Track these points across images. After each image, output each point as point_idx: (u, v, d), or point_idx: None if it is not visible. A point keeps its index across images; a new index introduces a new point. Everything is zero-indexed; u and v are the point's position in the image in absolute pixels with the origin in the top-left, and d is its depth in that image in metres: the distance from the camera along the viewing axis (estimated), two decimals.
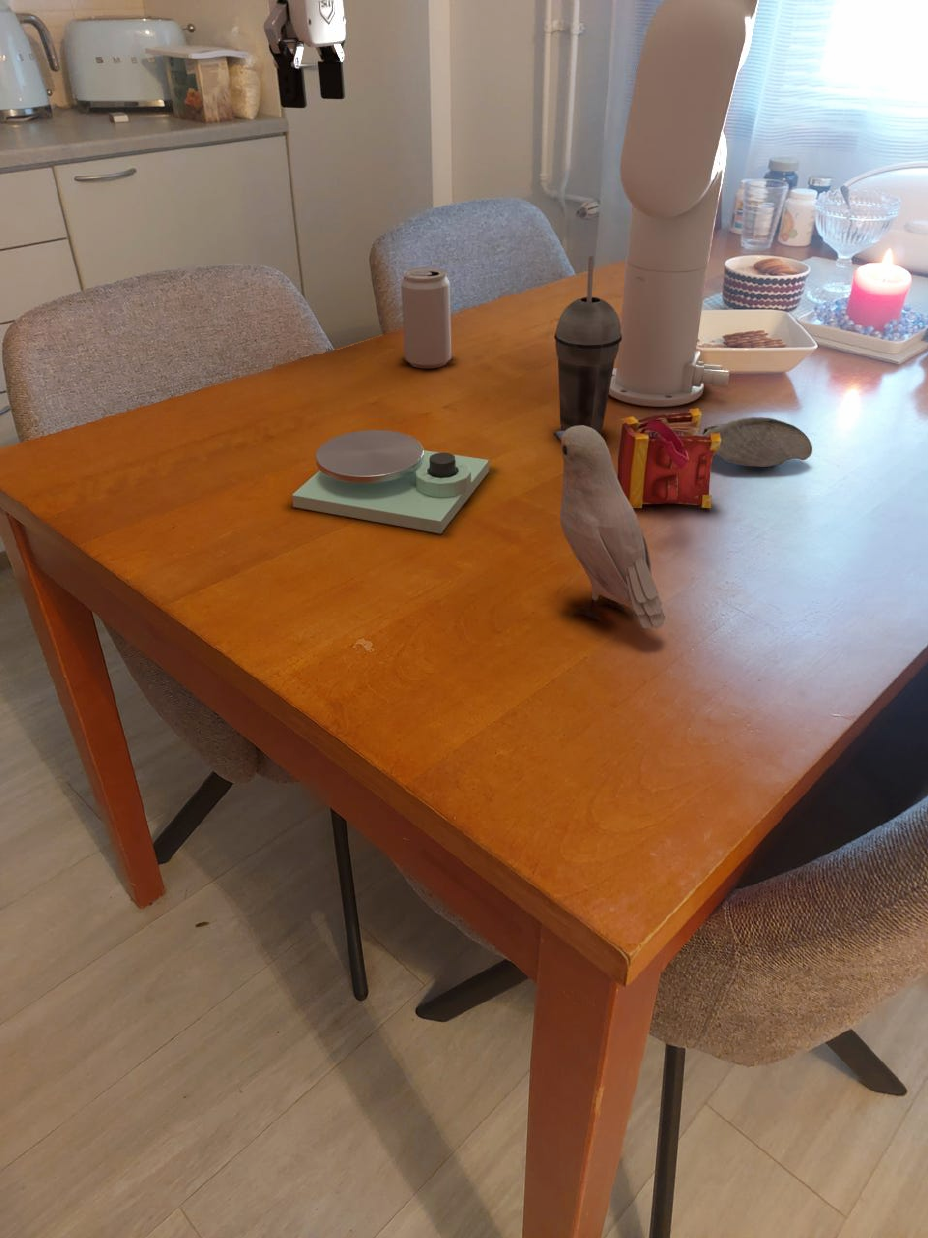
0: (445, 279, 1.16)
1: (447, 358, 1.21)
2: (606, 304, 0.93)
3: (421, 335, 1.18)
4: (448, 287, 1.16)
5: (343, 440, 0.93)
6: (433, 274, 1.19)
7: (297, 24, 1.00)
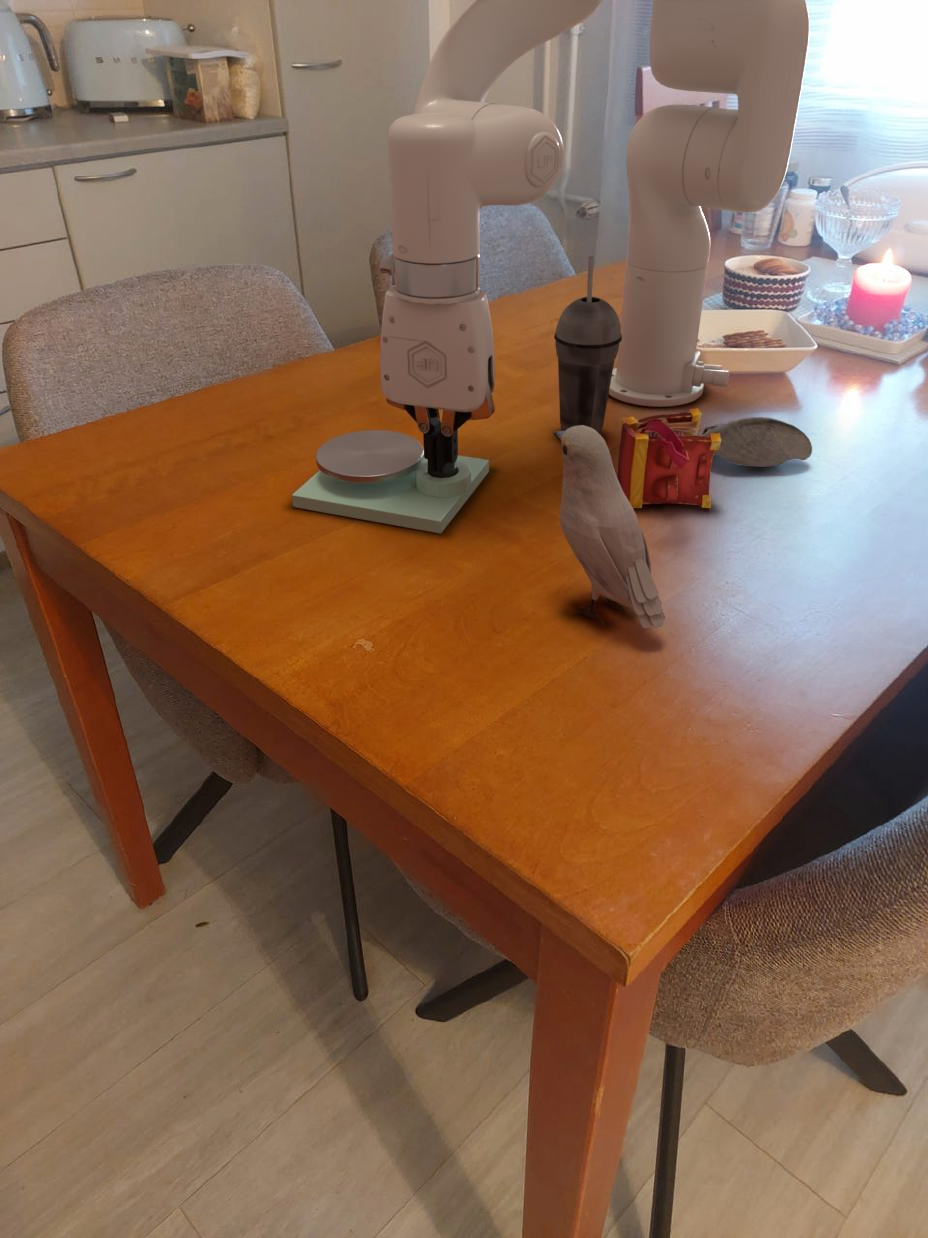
0: None
1: None
2: (606, 304, 0.93)
3: None
4: None
5: (343, 440, 0.93)
6: None
7: None
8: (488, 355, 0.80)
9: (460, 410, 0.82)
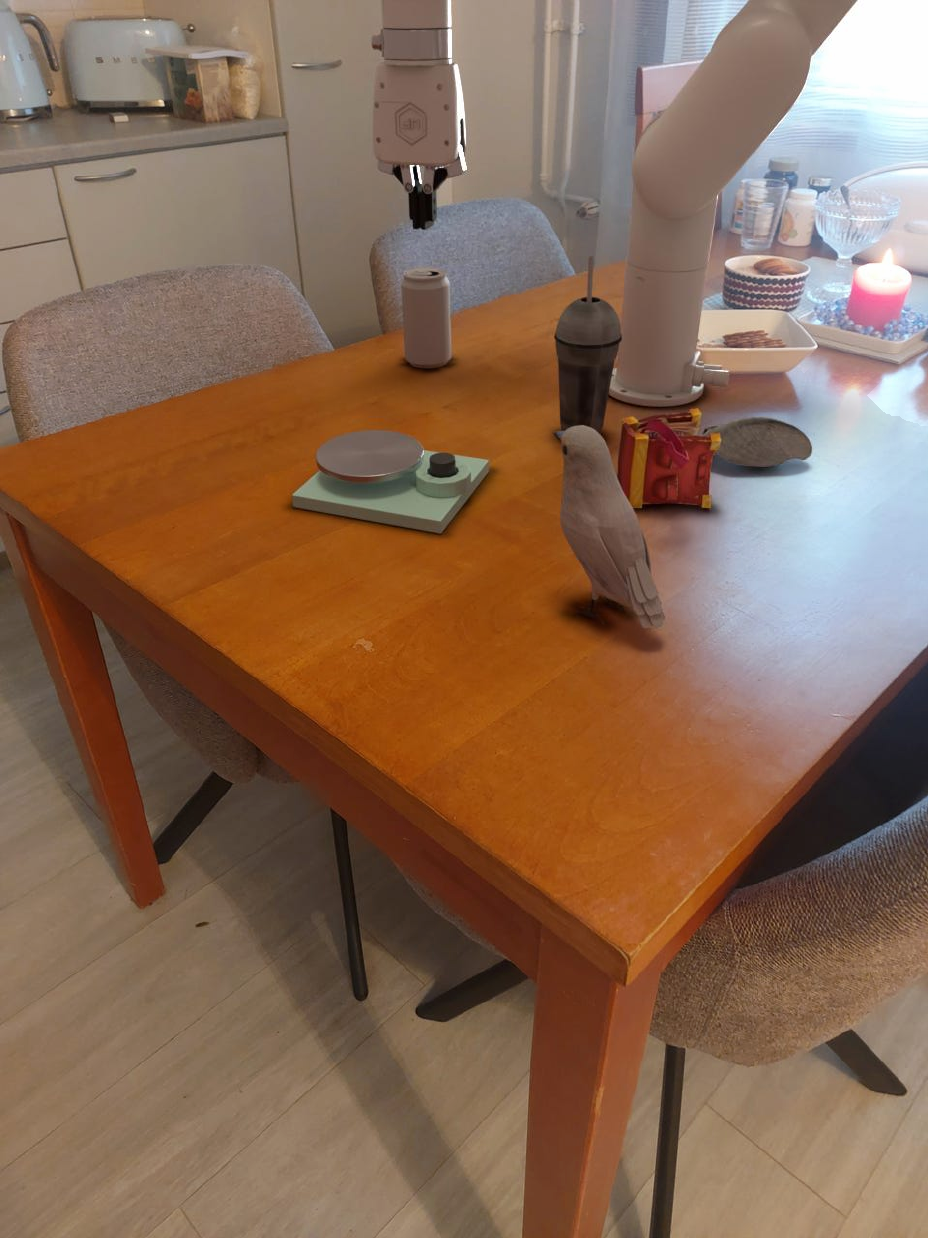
0: (445, 279, 1.16)
1: (447, 358, 1.21)
2: (606, 304, 0.93)
3: (421, 335, 1.18)
4: (448, 287, 1.16)
5: (343, 440, 0.93)
6: (433, 274, 1.19)
7: None
8: (460, 116, 1.00)
9: (438, 164, 1.01)
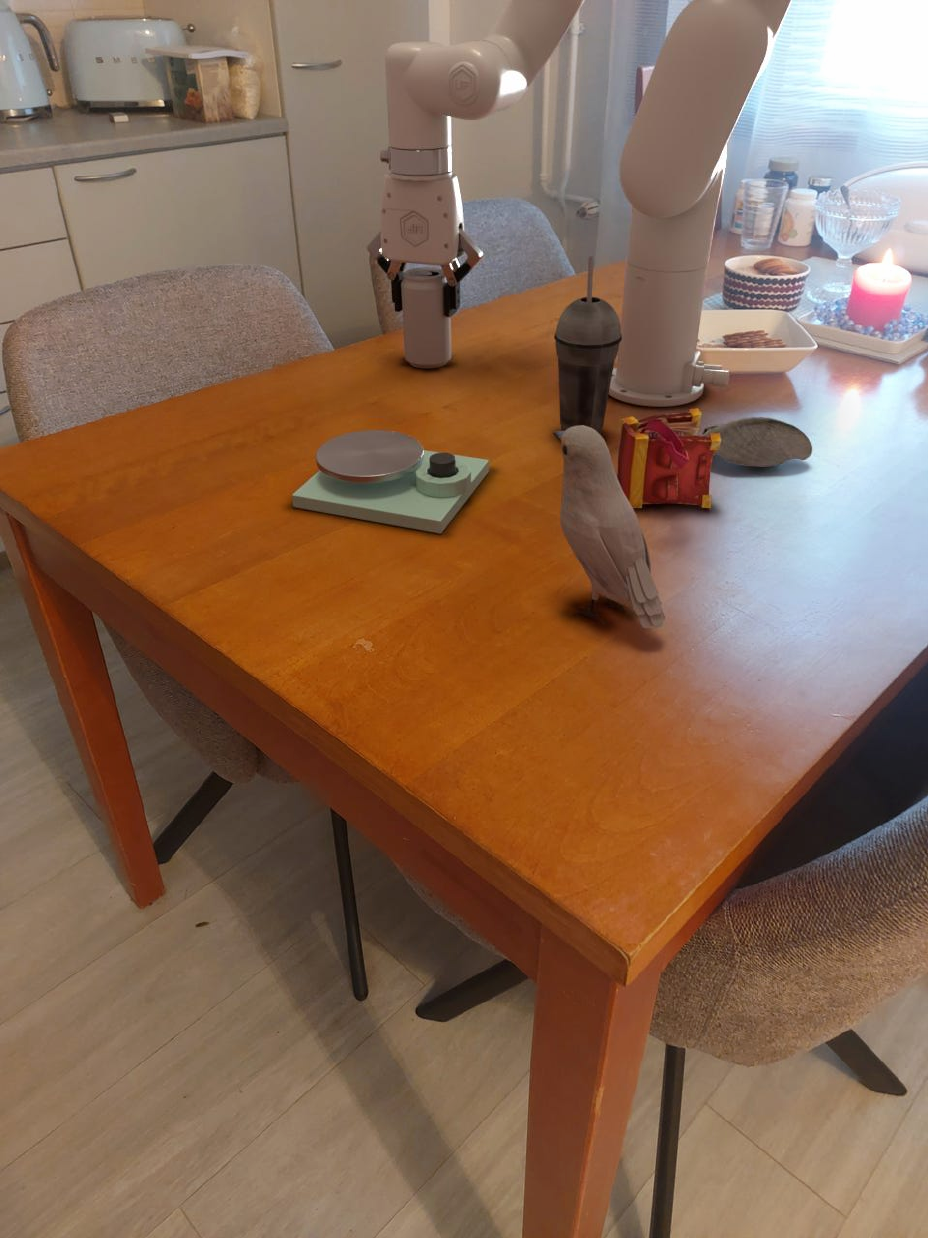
0: (445, 279, 1.16)
1: (447, 358, 1.21)
2: (606, 304, 0.93)
3: (421, 335, 1.18)
4: None
5: (343, 440, 0.93)
6: (433, 274, 1.19)
7: None
8: (459, 221, 1.10)
9: (439, 263, 1.12)
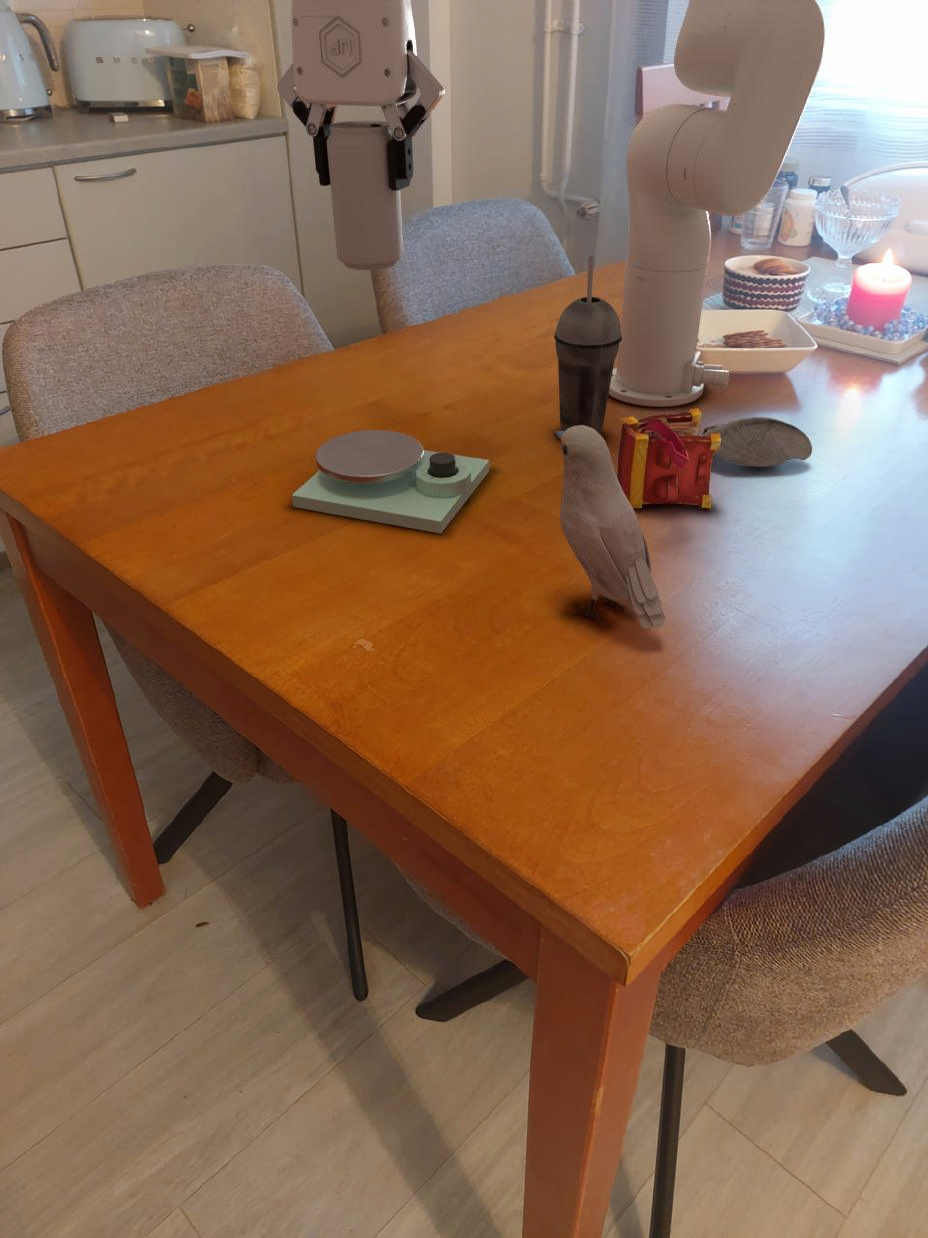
0: (390, 133, 0.79)
1: (396, 256, 0.84)
2: (606, 304, 0.93)
3: (357, 218, 0.81)
4: None
5: (343, 440, 0.93)
6: None
7: None
8: (406, 36, 0.74)
9: (378, 103, 0.75)
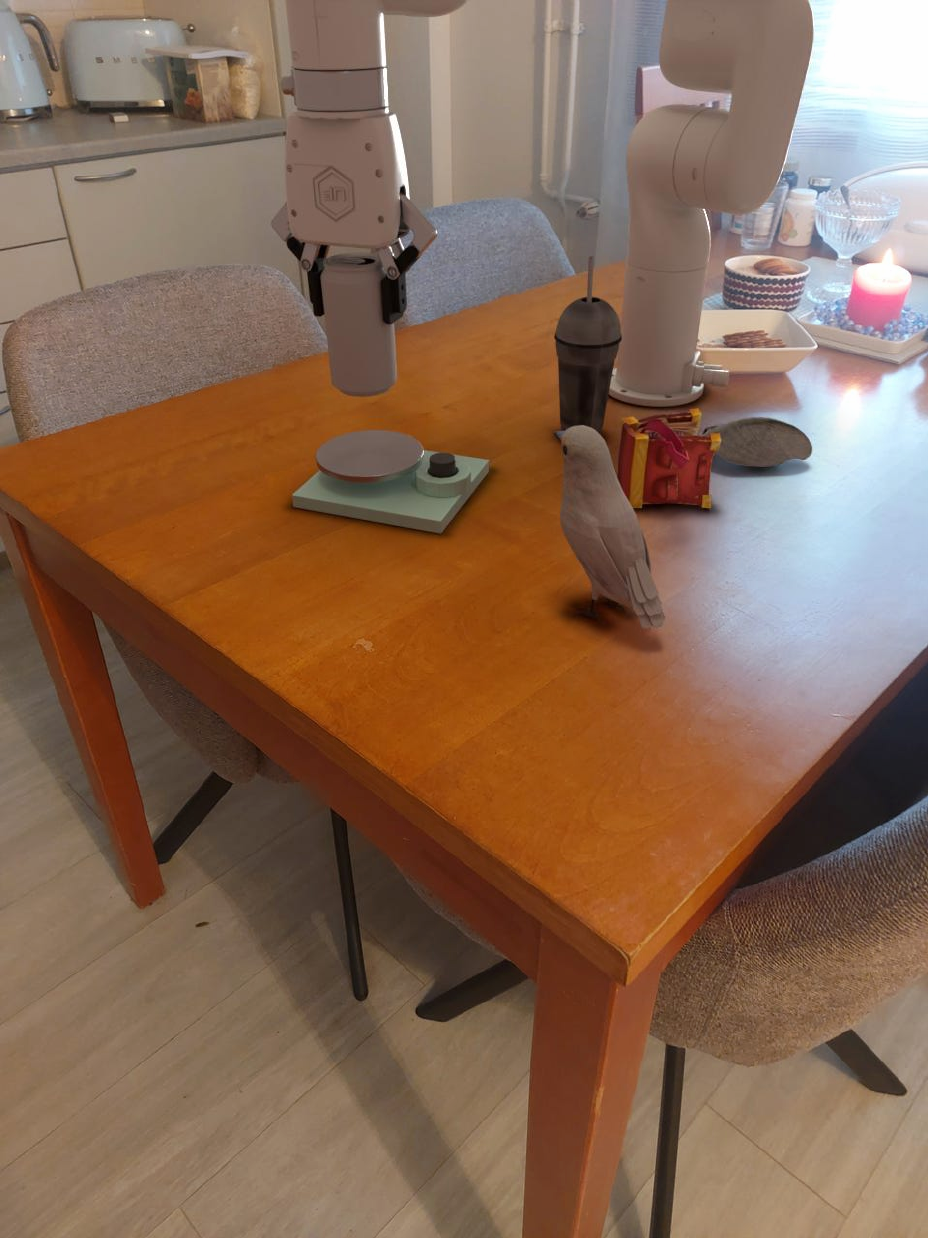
0: None
1: (390, 382, 0.85)
2: (606, 304, 0.93)
3: (351, 351, 0.82)
4: None
5: (343, 440, 0.93)
6: (369, 263, 0.83)
7: None
8: (399, 183, 0.75)
9: (371, 246, 0.76)
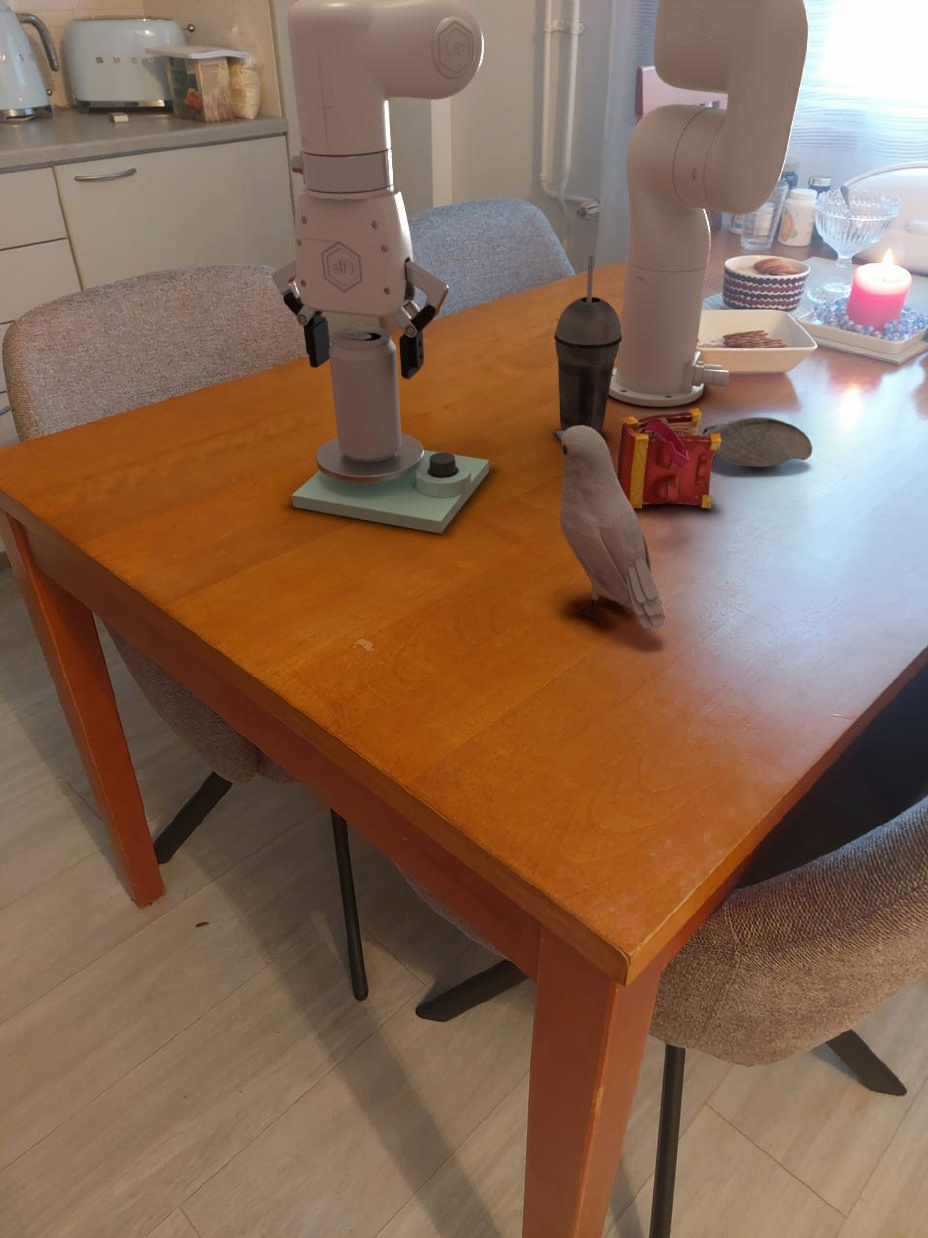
0: (389, 345, 0.84)
1: (395, 448, 0.89)
2: (606, 304, 0.93)
3: (358, 421, 0.86)
4: (394, 355, 0.84)
5: None
6: (375, 335, 0.87)
7: None
8: (404, 256, 0.78)
9: (378, 315, 0.80)
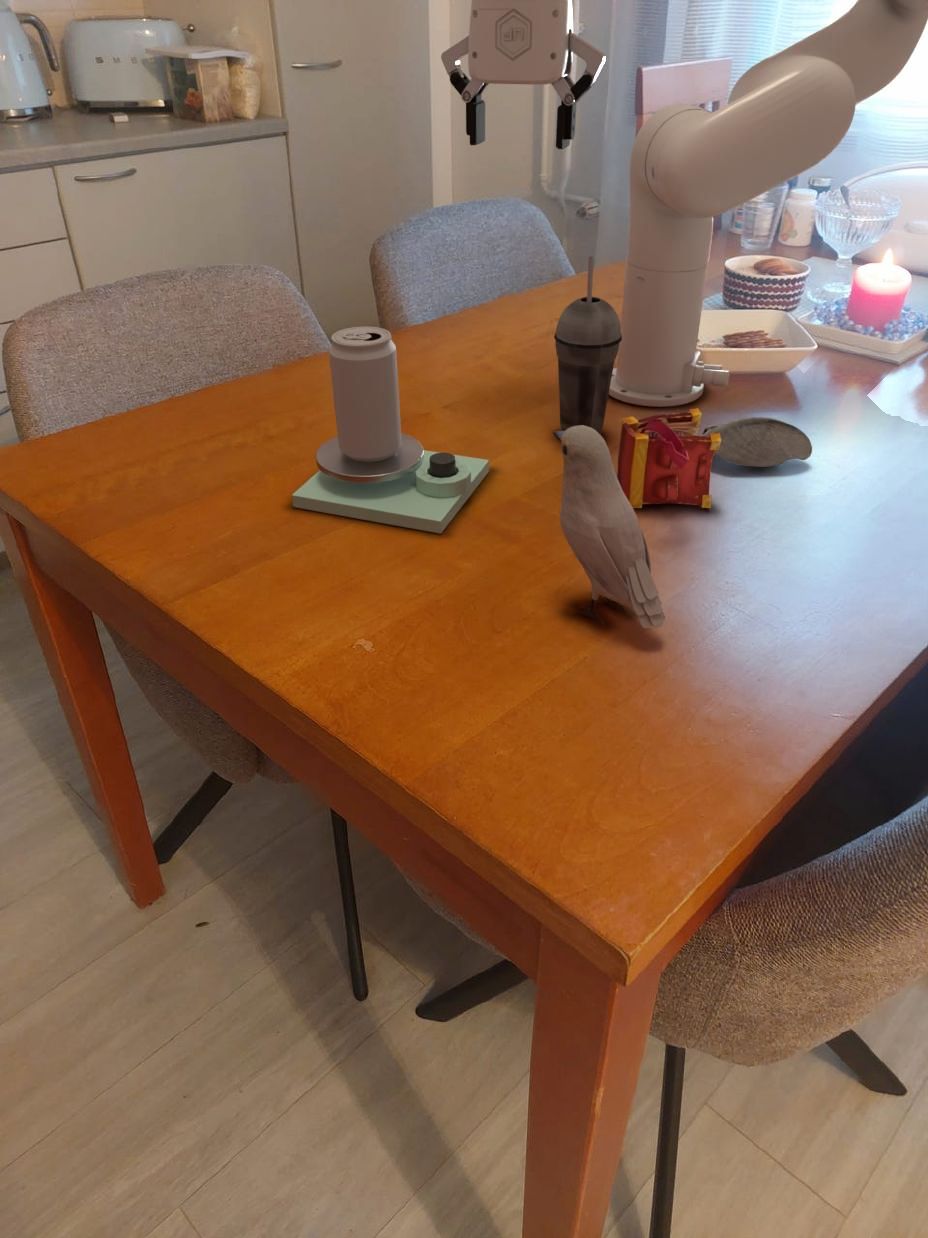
0: (389, 345, 0.84)
1: (395, 448, 0.89)
2: (606, 304, 0.93)
3: (358, 421, 0.86)
4: (394, 355, 0.84)
5: None
6: (375, 335, 0.87)
7: None
8: (569, 25, 0.88)
9: (542, 81, 0.90)
